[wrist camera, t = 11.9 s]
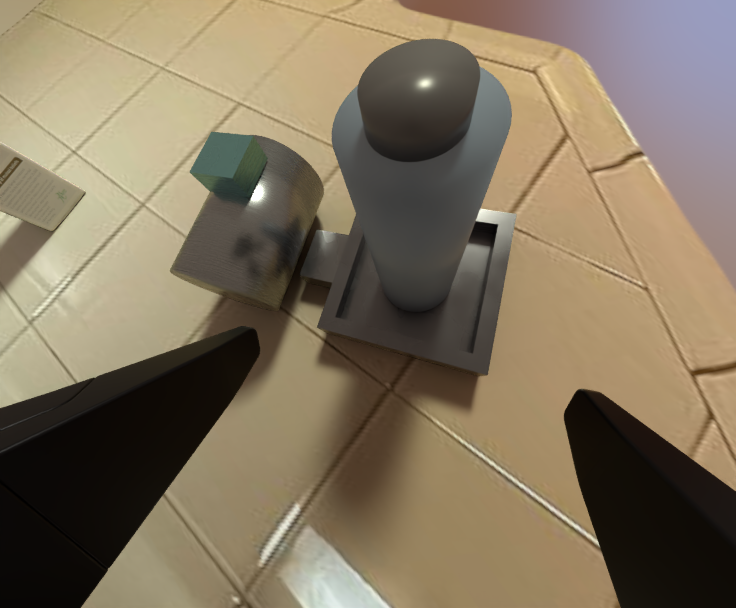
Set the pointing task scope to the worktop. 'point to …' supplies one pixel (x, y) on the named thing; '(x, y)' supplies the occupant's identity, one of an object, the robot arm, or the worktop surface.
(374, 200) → the blue-grey capped bottle
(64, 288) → the worktop surface
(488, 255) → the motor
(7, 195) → the syrup box
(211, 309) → the worktop surface
